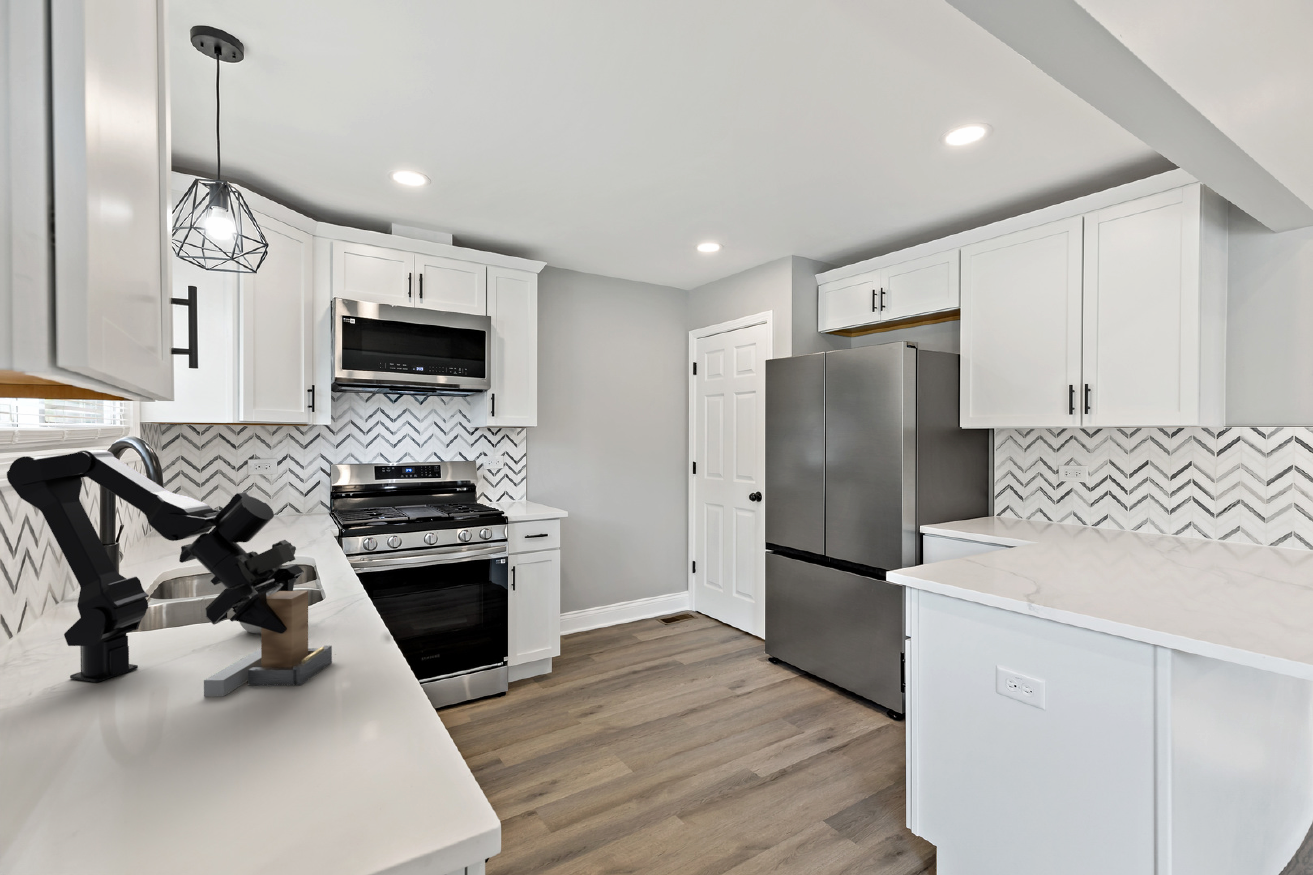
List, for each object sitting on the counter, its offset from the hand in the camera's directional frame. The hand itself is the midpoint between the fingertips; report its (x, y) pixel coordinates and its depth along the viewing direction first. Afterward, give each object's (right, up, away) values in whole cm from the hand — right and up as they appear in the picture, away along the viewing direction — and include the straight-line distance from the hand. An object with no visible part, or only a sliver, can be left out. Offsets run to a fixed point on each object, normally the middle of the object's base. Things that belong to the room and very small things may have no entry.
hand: (293, 626), depth 106 cm
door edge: (-7, -8, 0) cm, 11 cm away
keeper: (-1, -8, 0) cm, 8 cm away
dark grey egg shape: (-19, -8, +23) cm, 31 cm away
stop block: (-1, -7, 0) cm, 7 cm away
